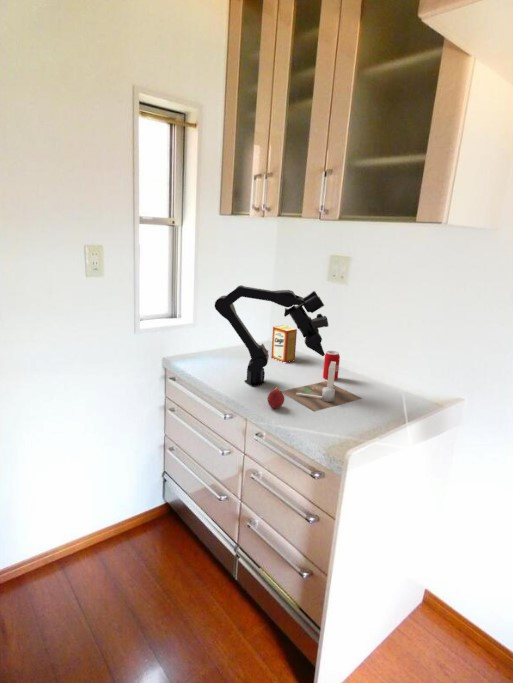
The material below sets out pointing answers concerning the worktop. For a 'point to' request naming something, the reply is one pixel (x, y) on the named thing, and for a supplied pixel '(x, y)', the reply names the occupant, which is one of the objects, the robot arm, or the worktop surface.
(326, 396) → the white panel with rod
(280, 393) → the red oval piece
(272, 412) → the worktop surface
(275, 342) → the baking soda box
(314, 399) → the dial board
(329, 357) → the beverage can
